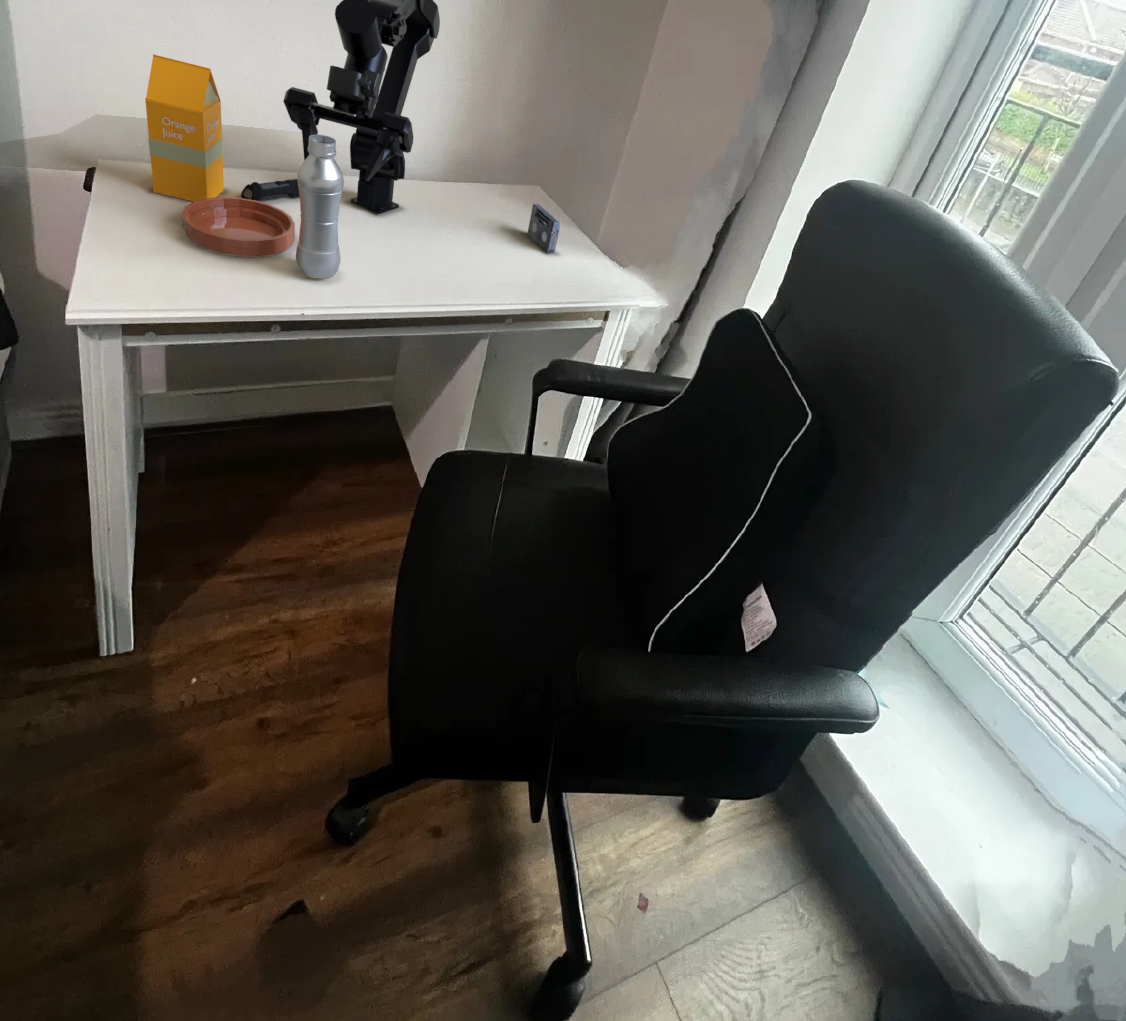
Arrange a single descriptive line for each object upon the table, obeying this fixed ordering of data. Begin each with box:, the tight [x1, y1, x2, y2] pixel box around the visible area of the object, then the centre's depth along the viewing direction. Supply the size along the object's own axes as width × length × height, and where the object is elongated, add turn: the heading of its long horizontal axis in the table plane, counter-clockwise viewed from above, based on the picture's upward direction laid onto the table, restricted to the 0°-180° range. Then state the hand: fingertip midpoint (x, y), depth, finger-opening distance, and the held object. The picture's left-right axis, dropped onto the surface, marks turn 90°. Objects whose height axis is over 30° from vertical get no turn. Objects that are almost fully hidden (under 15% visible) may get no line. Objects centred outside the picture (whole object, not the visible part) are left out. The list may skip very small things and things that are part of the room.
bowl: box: [181, 196, 296, 258], centre depth 128 cm, size 16×16×3 cm
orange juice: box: [145, 54, 225, 202], centre depth 132 cm, size 8×9×20 cm
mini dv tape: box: [526, 203, 561, 254], centre depth 153 cm, size 8×2×6 cm, turn 31°
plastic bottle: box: [295, 134, 345, 279], centre depth 120 cm, size 6×7×20 cm
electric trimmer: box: [240, 178, 300, 202], centre depth 144 cm, size 4×16×3 cm, turn 141°
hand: (336, 171), depth 123 cm, fingers open, 9 cm apart
